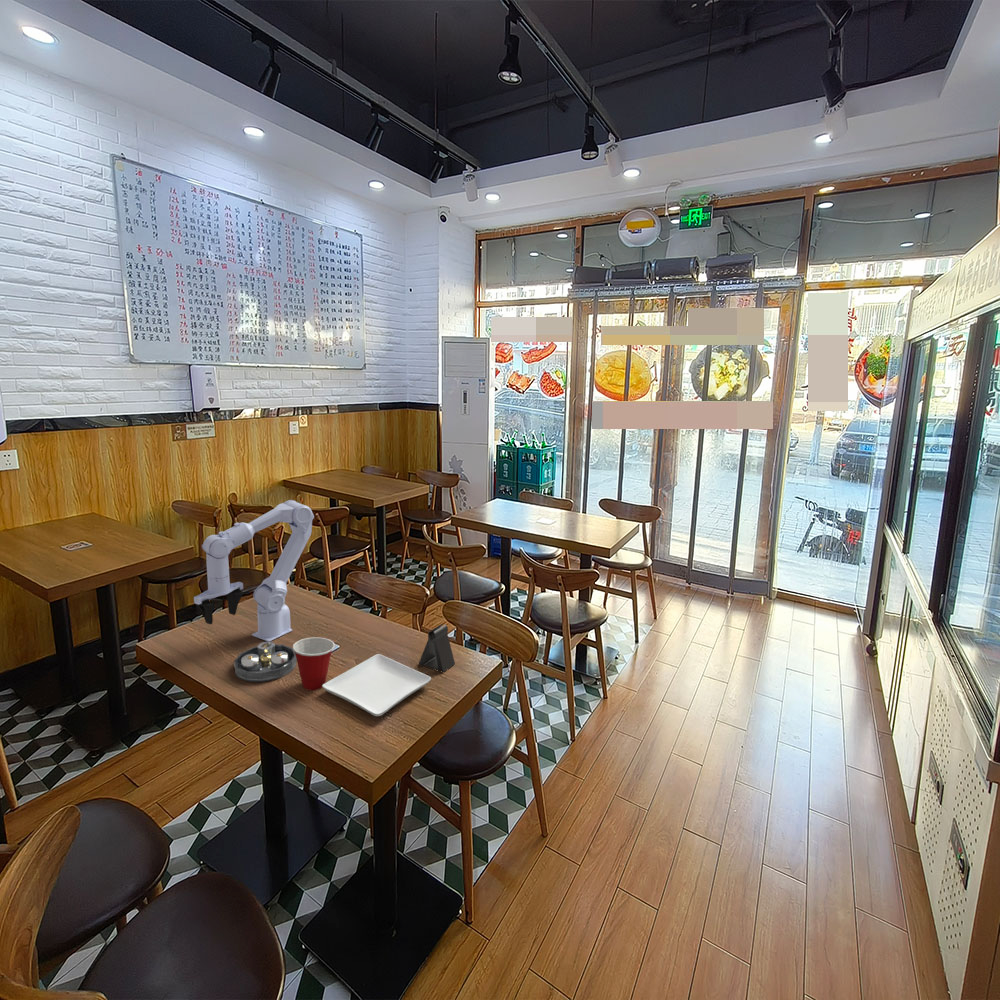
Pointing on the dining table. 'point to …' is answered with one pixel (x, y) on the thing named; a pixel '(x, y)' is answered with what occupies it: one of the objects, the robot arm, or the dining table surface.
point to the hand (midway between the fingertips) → (221, 618)
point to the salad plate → (377, 684)
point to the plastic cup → (313, 660)
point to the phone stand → (438, 650)
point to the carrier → (265, 664)
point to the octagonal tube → (266, 648)
